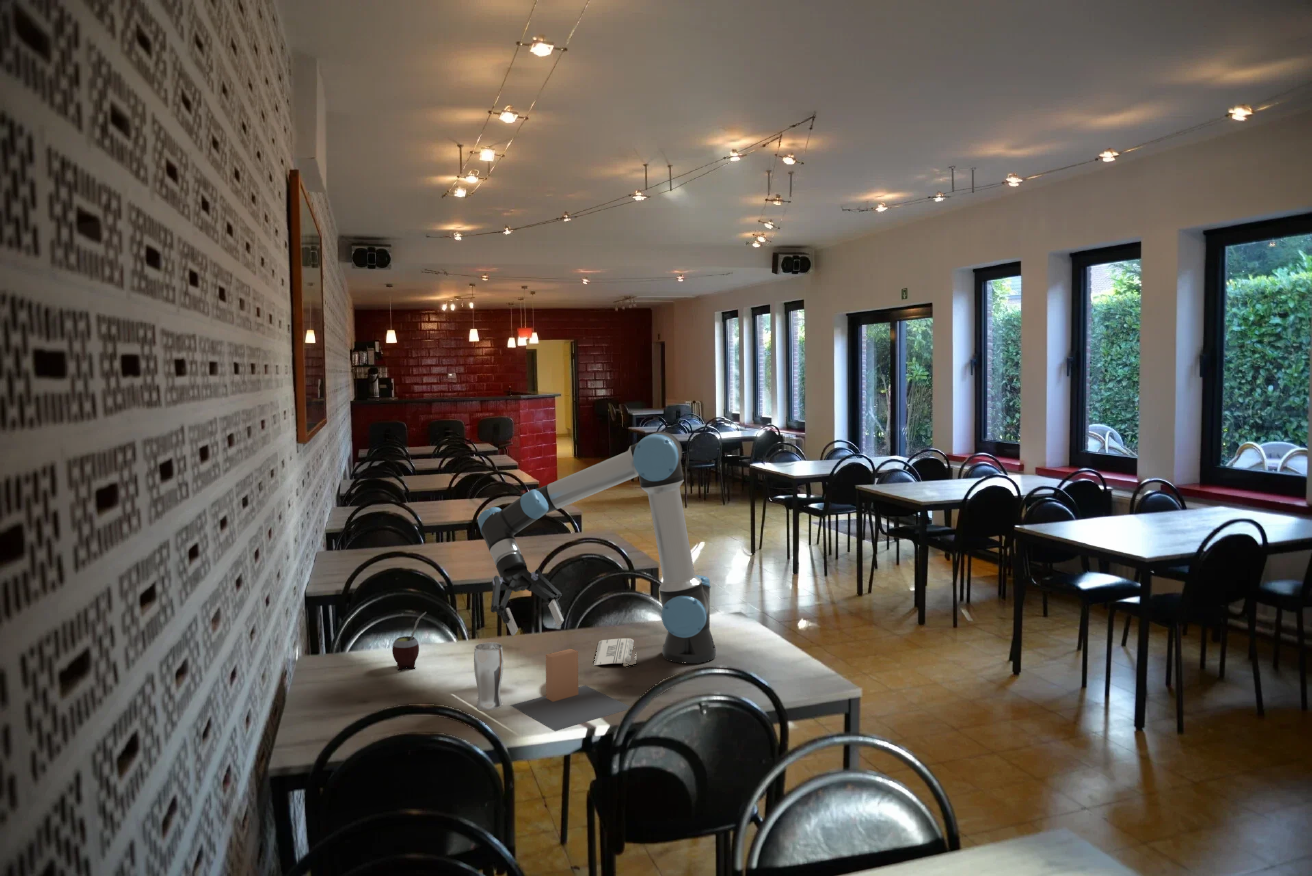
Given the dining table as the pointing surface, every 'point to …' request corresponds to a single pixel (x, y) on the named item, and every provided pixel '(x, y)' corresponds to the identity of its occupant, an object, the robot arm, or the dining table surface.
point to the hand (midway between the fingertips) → (538, 628)
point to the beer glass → (488, 674)
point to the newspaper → (614, 651)
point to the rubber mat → (571, 708)
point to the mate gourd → (406, 650)
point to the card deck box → (561, 674)
